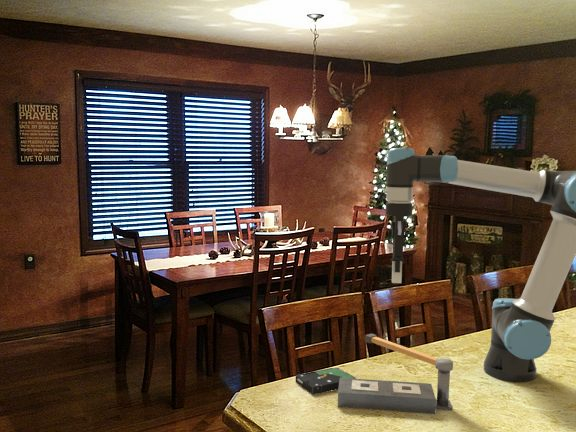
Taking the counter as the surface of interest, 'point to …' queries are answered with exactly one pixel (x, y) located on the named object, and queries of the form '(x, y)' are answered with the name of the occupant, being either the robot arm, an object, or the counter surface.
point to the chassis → (386, 395)
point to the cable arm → (411, 353)
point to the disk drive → (321, 380)
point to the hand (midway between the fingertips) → (396, 282)
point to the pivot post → (443, 391)
